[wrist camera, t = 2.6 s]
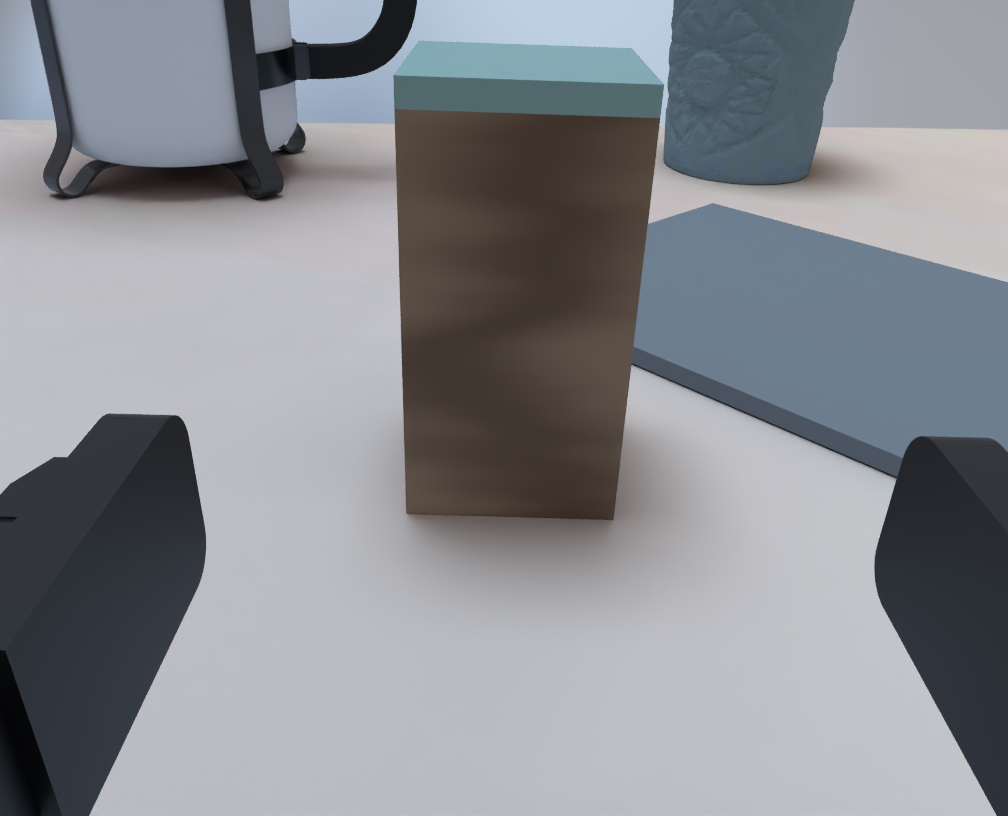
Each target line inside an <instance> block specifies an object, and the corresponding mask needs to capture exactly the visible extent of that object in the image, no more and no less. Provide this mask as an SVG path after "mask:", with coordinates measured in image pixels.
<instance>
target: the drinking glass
mask: <svg viewBox="0 0 1008 816" xmlns="http://www.w3.org/2000/svg"><path fill="white" fill-rule="evenodd" d="M854 1H855V0H674V10H673V17H672V23H671V26H672V42H671V45H670V51H669V65H670V70H669V77H668V92H669V98H668V105H667V109H666V122H665V140H664V162H665V163H666V164H667V166H669V167H671V168H672V169H674V170H676V171H679V172H681V173H684V174H686V175H690V176H693V177H697V178H701V179H706V180H712V181H719V182H726V183H736V184H753V185H765V184H782V183H789V182H794V181H797V180H800V179H802V178H804V177H805V176H806V175H807V173H808V171H809V170H810V167H811V164H812V160H813V156H814V153H815V149H816V146H817V142H818V138H819V134H820V130H821V126H822V120H823V106H824V102H825V98H826V95H827V93H828V90H829V88H830V86H831V84H832V82H833V72H834V67H835V63H836V60H837V52H838V50H839V47H840V46H841V44H842V42H843V40H844V37H845V34H846V30H847V27H848V22H849V17H850V15H851V12H852V8H853V4H854Z"/></svg>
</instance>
